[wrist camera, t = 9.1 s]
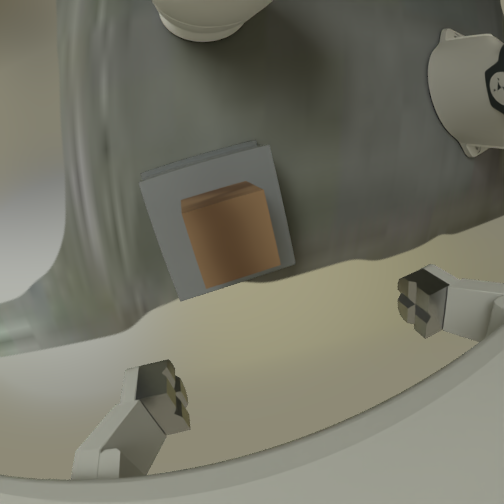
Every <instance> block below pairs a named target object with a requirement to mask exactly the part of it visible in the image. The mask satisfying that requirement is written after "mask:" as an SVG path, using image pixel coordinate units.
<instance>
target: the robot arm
mask: <svg viewBox="0 0 504 504" xmlns="http://www.w3.org/2000/svg"><path fill="white" fill-rule="evenodd" d="M428 84H429V90H430V95H431V98H432V102H433V105H434V108H435V110H436V113H437V115H438V117H439V119H440V121H441V122H442V124H443V125H444V127H445V128H446V130H447V131H448V132H449V133H450V134H451V135H452V136H453V137H454V138H456V139H457V140H458V141H459V143H460V144H461V147H462V148H463V150H464V152H465V154H466V155H467V156H468V157H476V156H478V155H479V154H481V153H482V152H484V151H485V150H487V149H489V148H500V149H504V43H502V42H501V41H500V40H499V39H497V38H496V37H493V35H492V34H479V35H470V36H463V35H461V34H459V33H458V32H456V31H454V30H452V29H443V30H442V32H441V36H440V42H439V44H438V46H437V47H436V48H435V49H434V50H433V52H432V54H431V56H430V60H429V65H428ZM398 290H399V291H400V293H401V294H400V296H399V298H398V309H399V312H400V315H401V317H402V318H403V319H404V320H405V321H406V322H407V323H410V324H414V329H415V330H416V331H417V332H418V333H419V334H421V335H422V336H423V337H424V338H425V339H426V338H428V337H430V336H431V335H433V334H435V333H437V332H439V331H440V330H442V329H443V331H446V332H449V333H452V334H456V335H459V336H462V337H465V338H468V339H471V340H474V341H477V342H479V343H478V344H477V345H475V346H474V347H473V348H471V349H470V350H468V351H467V352H465V353H464V354H462V355H461V356H460V357H459V358H457V359H455V360H454V361H452V362H451V363H449V364H448V365H446V366H445V367H443V368H441V369H440V370H438V371H437V372H435V373H433V374H432V375H430V376H429V377H427V378H425V379H424V380H422V381H420V382H419V383H417V384H415V385H414V386H412V387H410V388H408V389H406V390H404V391H403V392H401V393H399V394H397V395H396V396H393V397H392V398H390V399H388V400H386V401H384V402H382V403H380V404H378V405H376V406H374V407H372V408H370V409H368V410H366V411H364V412H362V413H360V414H357V415H355V416H353V417H351V418H348V419H346V420H344V421H342V422H339V423H337V424H334V425H332V426H330V427H327V428H325V429H323V430H320V431H317V432H315V433H312V434H310V435H307V436H304V437H301V438H299V439H296V440H293V441H290V442H287V443H285V444H281V445H278V446H275V447H272V448H269V449H266V450H263V451H259V452H256V453H252V454H249V455H245V456H242V457H238V458H234V459H230V460H226V461H222V462H218V463H214V464H209V465H204V466H199V467H195V468H190V469H184V470H178V471H172V472H166V473H160V474H152V475H147V473H148V471H149V469H150V467H151V465H152V463H153V461H154V460H155V458H156V456H157V454H158V452H159V450H160V448H161V446H162V444H163V442H164V440H165V439H166V435H169V434H174V433H178V432H182V431H186V430H190V419H189V413H188V412H187V410H186V407H187V405H188V398H187V394H186V390H185V387H184V385H183V383H182V381H181V379H180V378H179V377H177V376H175V368H174V366H173V364H172V363H171V361H170V360H163V361H160V362H155V363H151V364H147V365H142V366H138V367H134V368H130V369H127V370H126V371H125V374H124V380H123V386H122V392H121V399H120V404H116V405H115V406H114V407H113V408H112V409H111V411H110V412H109V413H108V414H107V415H106V416H105V418H104V419H103V420H102V421H101V422H100V423H99V425H98V426H97V427H96V428H95V429H94V430H93V432H92V433H91V434H90V435H89V436H88V437H87V439H86V440H85V441H84V442H83V443H82V444H81V445H80V447H79V448H78V449H77V450H76V452H75V458H74V463H73V469H72V475H71V480H57V479H35V478H23V477H14V476H6V475H0V504H504V283H497V282H489V281H480V280H472V279H461V280H460V279H458V278H456V277H454V276H453V275H451V274H449V273H447V272H446V271H444V270H442V269H441V268H439V267H437V266H436V265H433V264H429V265H427V266H425V267H424V268H421V269H420V270H418V271H416V272H414V273H411V274H409V275H407V276H405V277H403V278H401V279H399V282H398Z"/></svg>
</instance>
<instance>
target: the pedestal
mask: <svg viewBox="0 0 504 504" xmlns="http://www.w3.org/2000/svg"><path fill="white" fill-rule="evenodd" d="M141 177H142V180H141V181H140V182H139V186H140V189H141V192H142V195H143V198H144V202H145V205H146V208H147V211H148V214H149V217H150V220H151V223H152V226H153V229H154V232H155V234H156V237H157V240H158V243H159V246H160V249H161V251H162V254H163V257H164V260H165V262H166V265H167V268H168V270H169V273H170V276H171V278H172V281H173V284H174V286H175V289H176V291H177V294H178V296H179V299H180V301H184V300H187V299H190V298H193V297H196V296H199V295H203V294H206V293H209V292H212V291H215V290H218V289H221V288H224V287H228V286H231V285H234V284H237V283H240V282H243V281H246V280H249V279H252V278H255V277H258V276H261V275H264V274H267V273H270V272H273V271H276V270H279V269H282V268H285V267H288V266H291V265H294V264H296V263H295V258H294V253H293V248H292V243H291V238H290V234H289V229H288V224H287V220H286V215H285V210H284V206H283V201H282V197H281V192H280V188H279V183H278V179H277V175H276V170H275V166H274V162H273V157H272V153H271V149H270V145H257V143H256V140H252V141H248V142H244V143H240V144H236V145H233V146H229V147H225V148H221V149H217V150H214V151H210V152H207V153H203V154H200V155H196V156H193V157H189V158H186V159H183V160H180V161H176V162H173V163H170V164H167V165H164V166H161V167H158V168H155V169H152V170H149V171H146V172H143V173H141ZM244 181H247V182H249V183H251V184H253V185H255V186H257V187H259V188H261V189H263V190H264V193H265V197H266V201H267V206H268V210H269V214H270V219H271V223H272V227H273V232H274V236H275V240H276V245H277V249H278V254H279V258H280V263H281V265H279V266H276V267H273V268H270V269H267V270H264V271H261V272H258V273H255V274H252V275H248V276H245V277H242V278H239V279H236V280H233V281H230V282H227V283H224V284H220V285H217V286H214V287H211V288H208V289H206V287H205V284H204V281H203V278H202V275H201V272H200V269H199V266H198V263H197V260H196V257H195V254H194V251H193V248H192V245H191V242H190V239H189V236H188V233H187V230H186V226H185V223H184V220H183V217H182V212H181V200H183V199H186V198H189V197H192V196H195V195H199V194H202V193H205V192H209V191H212V190H216V189H219V188H222V187H226V186H229V185H233V184H236V183H240V182H244Z"/></svg>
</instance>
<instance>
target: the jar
mask: <svg viewBox="0 0 504 504" xmlns="http://www.w3.org/2000/svg"><path fill="white" fill-rule="evenodd" d="M272 1H273V0H152V2H153V4H154V5H155V7H156V9H157V10H158V12H159V15H160V18H161V21H162V22H163V24H164V25H165V27H166V28H167V29H168V30H169V31H170V32H172V33H173V34H175V35H176V36H178V37H181V38H183V39H186V40H190V41H196V42H210V41H216V40H220V39H223V38H226V37H228V36H230V35H232V34H233V33H235V32H236V31H237V30H238V29H239V28H240V27H241V26H242V25H243V24H244V22H246V21H247V20H249V19H250V18H251V17H253V16H254V15H255V14H256V13H258V12H259V11H261V10H262V9H263V8H265V7H266V6H267V5H268V4H270V3H271V2H272Z"/></svg>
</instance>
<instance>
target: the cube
mask: <svg viewBox="0 0 504 504" xmlns="http://www.w3.org/2000/svg"><path fill="white" fill-rule="evenodd" d="M181 212H182V217H183V220H184V223H185V226H186V230H187V233H188V236H189V239H190V242H191V245H192V248H193V251H194V254H195V257H196V260H197V263H198V266H199V269H200V272H201V275H202V278H203V281H204V284H205V287H206V289H208V288H211V287H214V286H217V285H220V284H224V283H227V282H230V281H233V280H236V279H239V278H242V277H245V276H248V275H252V274H255V273H258V272H261V271H264V270H267V269H270V268H273V267H276V266H279V265H281V263H280V258H279V254H278V249H277V245H276V240H275V236H274V232H273V227H272V223H271V219H270V214H269V210H268V206H267V201H266V197H265V193H264V190H263V189H261V188H259V187H257V186H255V185H253V184H251V183H249V182H247V181H244V182H240V183H236V184H233V185H229V186H226V187H222V188H219V189H216V190H212V191H209V192H205V193H202V194H199V195H195V196H192V197H189V198H186V199H183V200H181Z"/></svg>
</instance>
